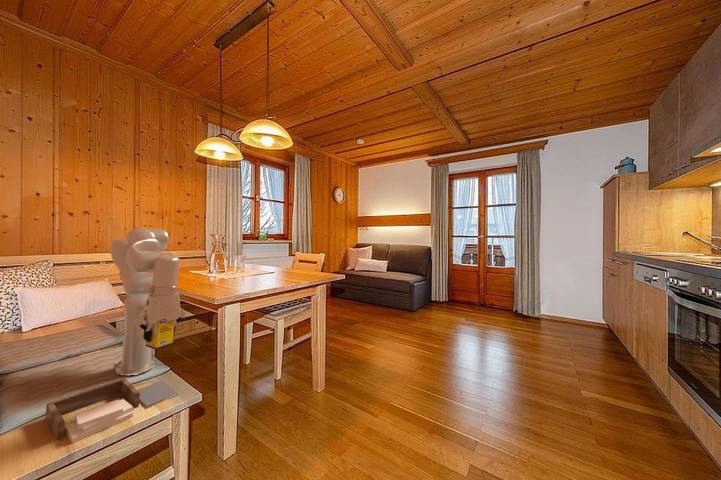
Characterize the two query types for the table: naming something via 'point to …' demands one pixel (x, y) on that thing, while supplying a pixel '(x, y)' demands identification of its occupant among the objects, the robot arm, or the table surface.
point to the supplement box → (161, 334)
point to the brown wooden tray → (88, 402)
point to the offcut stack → (98, 419)
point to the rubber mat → (155, 393)
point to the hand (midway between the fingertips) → (159, 337)
